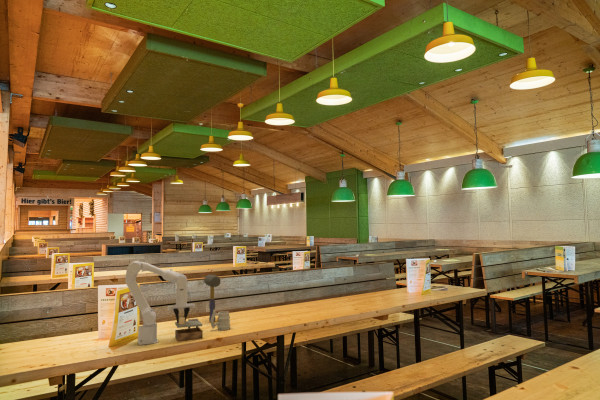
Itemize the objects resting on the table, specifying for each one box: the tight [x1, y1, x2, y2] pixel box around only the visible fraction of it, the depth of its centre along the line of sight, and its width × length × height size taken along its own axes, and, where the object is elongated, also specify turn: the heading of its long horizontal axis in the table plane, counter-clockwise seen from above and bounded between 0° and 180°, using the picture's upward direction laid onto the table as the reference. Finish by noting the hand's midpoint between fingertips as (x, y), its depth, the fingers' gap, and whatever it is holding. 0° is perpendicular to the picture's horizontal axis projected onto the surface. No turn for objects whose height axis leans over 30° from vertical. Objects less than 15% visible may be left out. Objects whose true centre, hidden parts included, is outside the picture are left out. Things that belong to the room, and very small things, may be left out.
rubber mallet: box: [204, 274, 221, 323], centre depth 249 cm, size 12×8×30 cm, turn 34°
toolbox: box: [174, 318, 204, 343], centre depth 214 cm, size 13×16×8 cm
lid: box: [174, 315, 203, 329], centre depth 211 cm, size 13×10×4 cm
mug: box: [209, 309, 231, 331], centre depth 229 cm, size 8×12×12 cm, turn 116°
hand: (181, 322), depth 210 cm, fingers closed on lid, 3 cm apart
